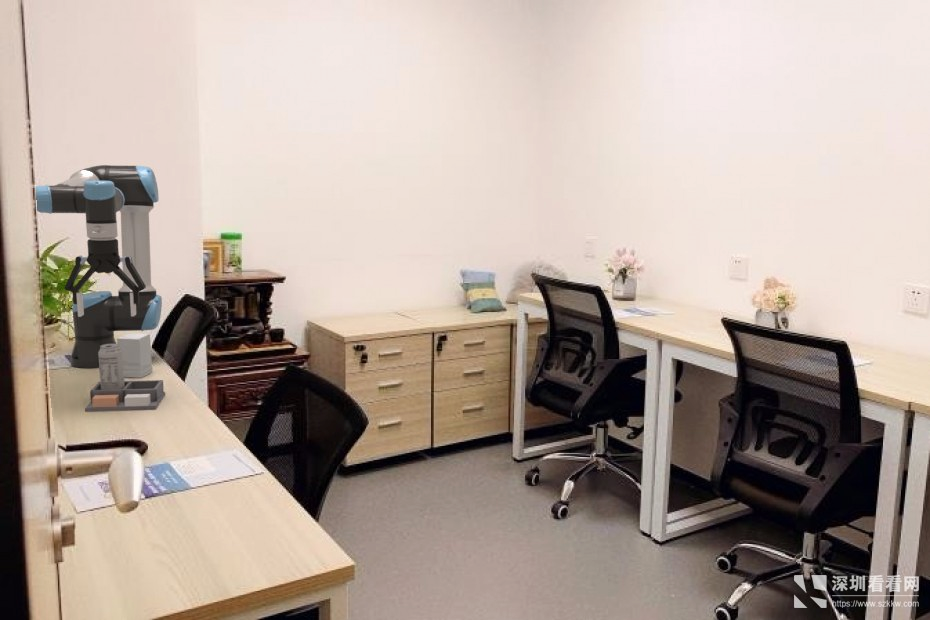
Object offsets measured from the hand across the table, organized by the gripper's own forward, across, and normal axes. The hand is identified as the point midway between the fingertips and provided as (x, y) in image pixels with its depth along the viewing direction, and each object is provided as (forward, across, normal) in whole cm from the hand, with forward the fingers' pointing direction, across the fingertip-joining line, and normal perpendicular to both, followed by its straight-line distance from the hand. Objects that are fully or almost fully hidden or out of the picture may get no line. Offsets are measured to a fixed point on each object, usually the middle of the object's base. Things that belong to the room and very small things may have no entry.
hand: (107, 315), depth 211 cm
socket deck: (+25, +4, -2) cm, 25 cm away
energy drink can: (+24, 0, 0) cm, 24 cm away
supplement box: (+25, 0, +27) cm, 37 cm away
